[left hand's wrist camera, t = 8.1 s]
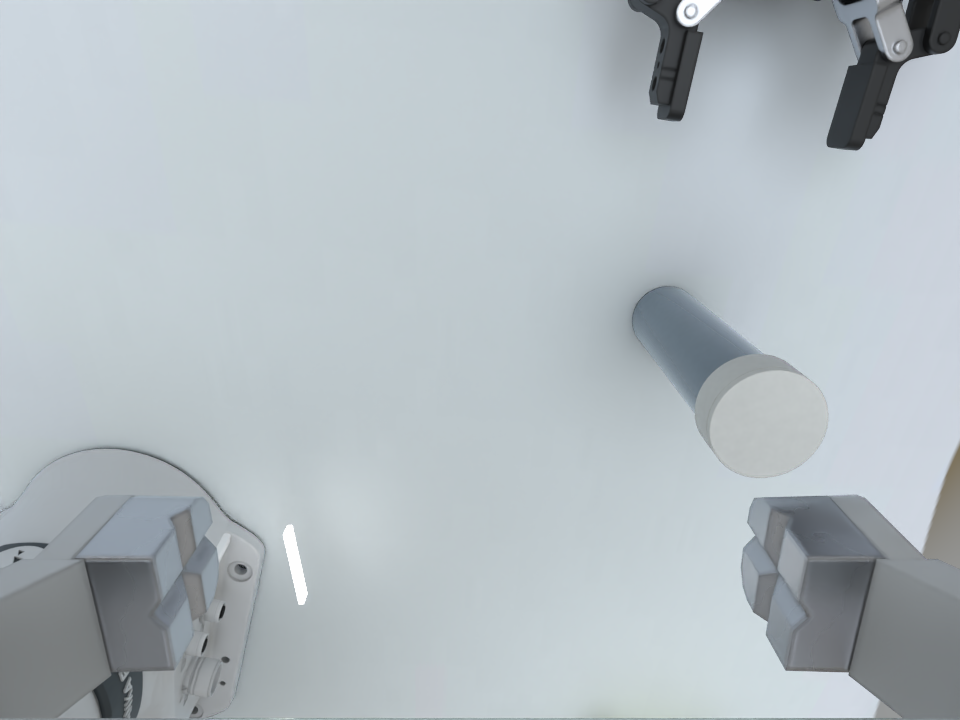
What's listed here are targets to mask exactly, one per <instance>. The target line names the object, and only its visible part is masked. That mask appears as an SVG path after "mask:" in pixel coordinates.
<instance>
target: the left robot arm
mask: <svg viewBox="0 0 960 720" xmlns="http://www.w3.org/2000/svg"><path fill="white" fill-rule="evenodd" d="M747 523H748V524H749V526H750V528H751V529H752V531H753V532H754V534H755V536H754V537H753V538H752V539H751V541H750V542H749V543H748V544H747V545H746V546H745V547H744V548H743V554H742V562H741V574H742V584H743V589H744V592H745V595H746V598H747V601H748V603H749V605H750V607H751V608H752V610H753V612H754V613H755V614H757V615H758V616H760V617H761V618H763V619H764V620H766V621H767V622H768V624H767V630H766V636H767V638H768V640H769V642H770V643H771V645H772V647H773V649H774V651H775V652H776V654H777V656H778V658H779V660H780V661H781V663H782V665H783V667H784V669H785V670H786V671H819V672H849V676H850V677H852V678H853V679H854V680H855V681H857V682H858V683H859V684H860V685H862V686H863V687H864V688H865V689H867V690H868V691H869V692H871V693H872V694H873V695H874V696H876V697H877V698H878V699H879V700H881V701H882V702H883V703H885V704H886V705H887V706H888V707H890V708H891V709H892V710H893V711H895V712H896V713H897V714H899V715H900V716H901V717H902V718H207V717H210V716H213V715H215V714H218V713H220V712H222V711H224V710H226V709H227V708H228V707H229V706H230V704H231V702H232V700H233V699H234V696H235V693H236V689H237V684H238V680H239V675H240V670H241V665H242V661H243V656H244V651H245V646H246V642H247V637H248V632H249V627H250V623H251V618H252V613H253V608H254V604H255V599H256V594H257V589H258V585H259V580H260V575H261V570H262V565H263V561H264V556H265V548H264V545H263V543H262V542H261V540H259V539H258V538H257V537H256V536H255V535H254V534H252V533H251V532H249V531H248V530H246V529H245V528H243V527H241V526H240V525H238V524H236V523H235V522H233V521H231V520H230V519H229V518H228V517H227V516H225V514H224V513H223V512H222V511H221V510H220V509H219V507H218V506H217V505H216V503H215V502H214V501H213V500H212V498H211V497H210V496H209V495H208V494H207V493H206V492H205V490H204V489H203V488H202V487H201V486H200V485H198V484H197V483H196V482H195V481H194V480H193V479H191V478H190V477H189V476H187V475H186V474H185V473H183V472H181V471H180V470H178V469H177V468H175V467H173V466H171V465H170V464H168V463H166V462H164V461H161V460H159V459H156V458H154V457H151V456H148V455H145V454H141V453H138V452H133V451H128V450H121V449H91V450H85V451H80V452H76V453H73V454H70V455H67V456H64V457H62V458H60V459H58V460H56V461H54V462H52V463H51V464H49V465H48V466H46V467H45V468H44V469H42V470H41V471H40V472H39V473H38V474H37V475H36V476H35V477H34V478H33V479H32V481H31V482H30V483H29V485H28V486H27V488H26V489H25V491H24V492H23V493H22V495H21V496H20V497H19V499H18V500H17V501H16V502H15V504H14V505H13V506H12V507H10V508H8V509H6V510H4V511H2V512H0V720H960V569H959V568H956V567H954V566H952V565H950V564H947V563H945V562H943V561H941V560H938V559H926V558H925V557H924V556H923V555H922V554H921V553H920V552H919V551H918V550H917V549H916V548H915V547H914V546H913V545H912V544H911V543H910V542H909V541H908V540H907V539H906V538H905V537H904V536H903V535H902V534H901V533H900V532H899V531H898V530H897V529H896V528H895V527H894V526H893V525H892V524H891V523H890V522H889V521H888V520H887V519H886V518H885V517H884V516H883V515H882V514H881V513H880V512H879V511H878V510H877V509H876V508H875V507H874V506H873V505H872V504H871V503H870V502H869V501H868V500H867V499H866V498H864V497H861V496H858V495H834V496H801V497H762V498H754V500H753V502H752V504H751V506H750V510H749V515H748V521H747ZM283 537H284V541H285V545H286V550H287V554H288V559H289V563H290V567H291V572H292V576H293V581H294V585H295V589H296V594H297V598H298V603H299V604H304V602H305V599H306V596H307V590H306V585H305V581H304V576H303V572H302V567H301V563H300V558H299V554H298V549H297V545H296V540H295V535H294V531H293V526H292V525H287V527H286V529H285V532H284V534H283ZM239 564H241V565H244V566H245V567H246V568H241V567H240V566H239Z"/></svg>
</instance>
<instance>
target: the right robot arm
mask: <svg viewBox="0 0 960 720" xmlns="http://www.w3.org/2000/svg"><path fill="white" fill-rule="evenodd" d="M721 1H722V0H628V3H629V6H630V7H631V9H633V10H634V11H636V12H642V13H644V14H645V15H647V16H649V17H650V18H652V19H653V20H655V21H656V22H657V24H658V25H659V27H660V31H661V39H660V43H659V48H658V53H657V57H656V62H655V67H654V71H653V76H652V81H651V85H650V90H649V96H650V103H651V104H653V105H659V107H658V113H657V118H658V119H662V120H668V121H681V119H682V118H683V115H684V113H685V109H686V104H687V100H688V96H689V92H690V87H691V83H692V79H693V74H694V70H695V66H696V62H697V57H698V53H699V49H700V44H701V40H702V36H703V32H697V29H698V24H699V22H700V21H701V20H702V19H704V18H705V17H706V16H707V15H708V14H709V13H710V12H711V11H712V10H713V9H714V8H715V7H716V6H717V5H718V4H719V3H720V2H721ZM815 1H820V0H815ZM902 1H903V0H832V2H833V5H834V8H835V11H836V14H837V17H838V19H839V20H840V21H841V22H842V23H843V24H845V25H846V27H847V30H848V33H849V36H850V39H851V42H852V45H853V48H854V51H855V54H856V57H857V60H858V64H857V65H853V66H849V67H848V70H847V74H846V77H845V80H844V84H843V87H842V90H841V94H840V97H839V100H838V103H837V107H836V110H835V113H834V117H833V120H832V123H831V127H830V130H829V133H828V137H827V146H828V147H831V148H837V149H844V150H859V149H860V148H861V147H862V145H863V144H864V142H865V139H872V138H873V136H874V135H875V133H876V132H877V131H878V129H879V128H880V125H881V121H882V118H883V114H884V112H885V109H886V105H887V103H888V100H889V97H890V94H891V91H892V88H893V85H894V81H895V78H896V75H897V73H898V71H899V69H900V67H901V66H902V65H903V64H904V63H905V62H907V61H909V60H911V59H914V58H919V57H924V56H928V55H933V54H941V53H945V52H947V51H949V50H950V49H951V48H952V47H953V46H954V45H955V43H956V40H957V37H958V33H959V30H960V0H909V3H908V7H907V10H906V14H905V13H904V10H903V6H902Z"/></svg>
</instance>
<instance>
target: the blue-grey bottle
mask: <svg viewBox="0 0 960 720" xmlns="http://www.w3.org/2000/svg"><path fill="white" fill-rule="evenodd" d="M632 323H633V329H634V332H635V334H636V336H637V338H638V339H639V340H640V342H641V343H642V344H643V346H644V347H645V348H646V350H647V351H648V352H649V354H650V355H651V356H652V358H653V359H654V360H655V362H656V363H657V364H658V366H659V367H660V368H661V370H662V371H663V372H664V374H665V375H666V376H667V378H668V379H669V380H670V382H671V383H672V384H673V386H674V387H675V388H676V390H677V391H678V392H679V393H680V395H681V396H682V397H683V399H684V400H685V401H686V403H687V404H688V405H689V407H690V408H691V409H692V411H693V412H694V413H695V403H696V399H697V396H698V393H699V391H700V389H701V387H702V385H703V384H704V382H705V381H706V379H707V378H708V377H709V376H710V375H711V374H712V373H713V372H714V371H715V370H716V369H717V368H719V367H720V366H721V365H723V364H724V363H726V362H728V361H730V360H732V359H735V358H737V357H741V356H745V355H751V354H763V353H762V352H761V351H760V350H758V349H757V348H756V347H755V346H753V345H752V344H751V343H750V342H748V341H747V340H746V339H745V338H743V337H742V336H741V335H740V334H738V333H737V332H736V331H735V330H733V329H732V328H731V327H730V326H728V325H727V324H726V323H725V322H724V321H722V320H721V319H720V318H719V317H717V316H716V315H715V314H714V313H712V312H711V311H710V310H709V309H707V308H706V307H705V306H704V305H702V304H701V303H700V302H699V301H697V300H696V299H695V298H694V297H692V296H691V295H690V294H689V293H687V292H686V291H684V290H683V289H680V288H677V287H671V286H666V287H660V288H657V289H654V290H652V291H650V292H649V293H647V294H646V295H645V296H644V297H642V299H641V300H640V301H639V302H638V304H637V306H636V308H635V310H634V313H633V319H632ZM764 355H765V354H764Z"/></svg>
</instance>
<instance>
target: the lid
mask: <svg viewBox="0 0 960 720" xmlns="http://www.w3.org/2000/svg"><path fill="white" fill-rule="evenodd" d="M695 420H696V425H697V428H698V430H699V432H700V434H701V436H702V437H703V438H704V440H705V441H706V443H707V444H708V445H709V447H710V448H711V450H712V451H713V452H714V454H715V455H716V456H717V458H718V459H719V460H720V462H721V463H722V464H723V465H725V466H726V467H727V468H729V469H730V470H732V471H734V472H735V473H738V474H740V475H743V476H747V477H753V478H768V477H774V476H778V475H782V474H785V473H787V472H789V471H791V470H793V469H795V468H797V467H799V466H800V465H802V464H803V463H804V462H805V461H807V460H808V459H809V458H810V457H811V456H812V455H813V454H814V452H815V451H816V450H817V449H818V447H819V446H820V444H821V442H822V440H823V438H824V436H825V433H826V430H827V426H828V407H827V403H826V400H825V398H824V396H823V394H822V392H821V391H820V389H819V388H818V387H817V386H816V385H815V384H814V383H813V382H812V381H811V380H809V379H808V378H807V377H806V376H804V375H803V374H802V373H800V372H799V371H798V370H796V369H795V368H794V367H793V366H791V365H790V364H789V363H787V362H786V361H784V360H782V359H780V358H777V357H775V356H771V355H764V354H751V355H745V356H741V357H737V358H735V359H732V360H730V361H728V362H726V363H724V364H723V365H721V366H720V367H719V368H717V369H716V370H715V371H714V372H713V373H712V374H711V375H710V376H709V377H708V378H707V379H706V381H705V382H704V384H703V385H702V387H701V389H700V391H699V393H698V396H697V399H696V403H695Z"/></svg>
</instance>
